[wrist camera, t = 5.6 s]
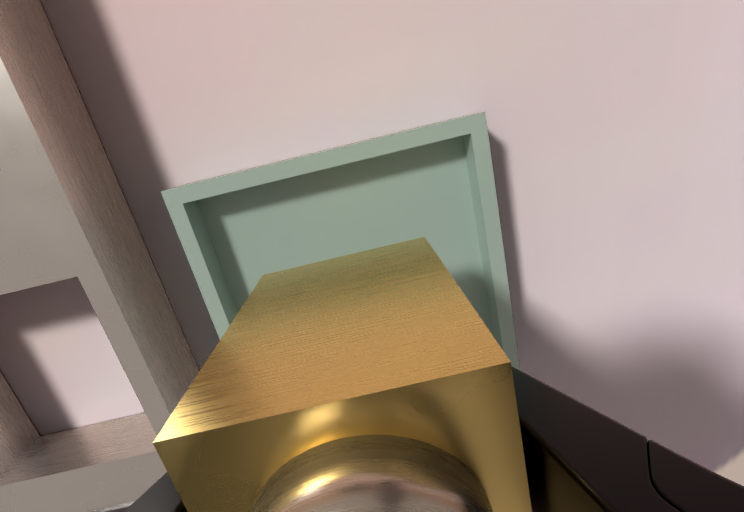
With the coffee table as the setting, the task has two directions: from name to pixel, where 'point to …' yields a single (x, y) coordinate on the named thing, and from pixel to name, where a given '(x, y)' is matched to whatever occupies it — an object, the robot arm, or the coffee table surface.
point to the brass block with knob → (352, 397)
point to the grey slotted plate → (95, 272)
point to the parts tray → (353, 216)
